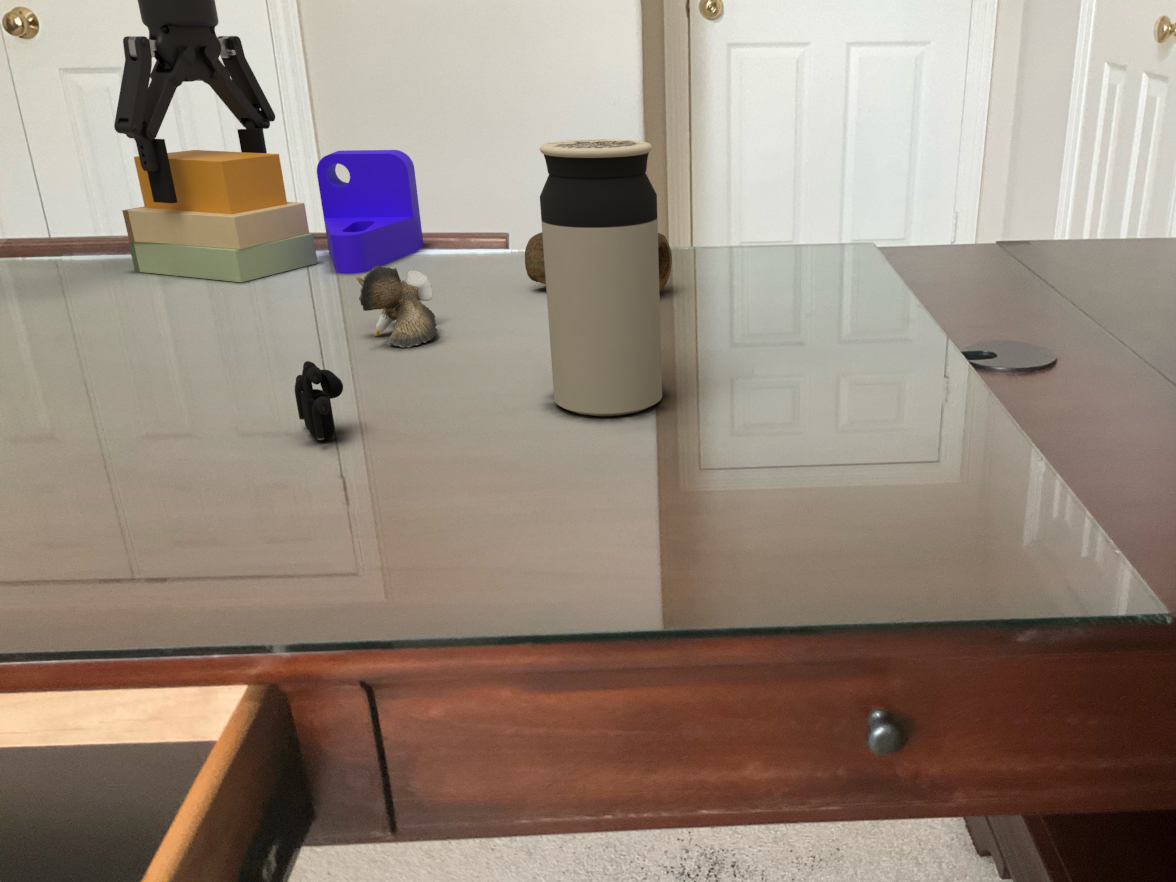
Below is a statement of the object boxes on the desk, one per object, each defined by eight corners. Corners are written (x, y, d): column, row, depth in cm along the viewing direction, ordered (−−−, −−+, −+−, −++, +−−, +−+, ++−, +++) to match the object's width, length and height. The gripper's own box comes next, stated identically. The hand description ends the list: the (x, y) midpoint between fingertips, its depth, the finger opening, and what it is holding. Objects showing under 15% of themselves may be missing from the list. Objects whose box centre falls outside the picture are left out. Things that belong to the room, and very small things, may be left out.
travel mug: (682, 406, 79) (677, 145, 71) (583, 425, 75) (566, 152, 67) (631, 379, 85) (621, 136, 77) (537, 396, 81) (517, 142, 74)
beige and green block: (132, 272, 125) (118, 209, 122) (216, 253, 135) (205, 195, 132) (240, 283, 119) (227, 217, 116) (319, 263, 129) (309, 202, 126)
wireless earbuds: (297, 424, 76) (285, 354, 73) (334, 418, 77) (322, 348, 75) (322, 454, 70) (310, 379, 68) (361, 447, 71) (350, 373, 69)
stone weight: (677, 287, 116) (676, 223, 113) (658, 302, 110) (656, 234, 107) (546, 281, 119) (542, 218, 116) (521, 294, 113) (515, 229, 110)
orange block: (287, 204, 125) (279, 153, 123) (231, 214, 118) (221, 161, 116) (203, 198, 130) (194, 149, 128) (144, 207, 123) (133, 156, 120)
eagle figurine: (337, 316, 100) (341, 320, 91) (371, 246, 99) (377, 243, 91) (414, 355, 103) (425, 361, 95) (447, 287, 102) (460, 288, 94)
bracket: (337, 247, 140) (323, 150, 135) (423, 245, 140) (412, 149, 135) (300, 275, 123) (282, 166, 118) (397, 273, 124) (383, 165, 119)
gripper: (237, -10, 126) (269, 180, 135) (41, -18, 105) (95, 207, 114) (286, -11, 124) (316, 183, 133) (96, -20, 103) (147, 211, 112)
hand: (214, 195), depth 124 cm, fingers open, 13 cm apart
